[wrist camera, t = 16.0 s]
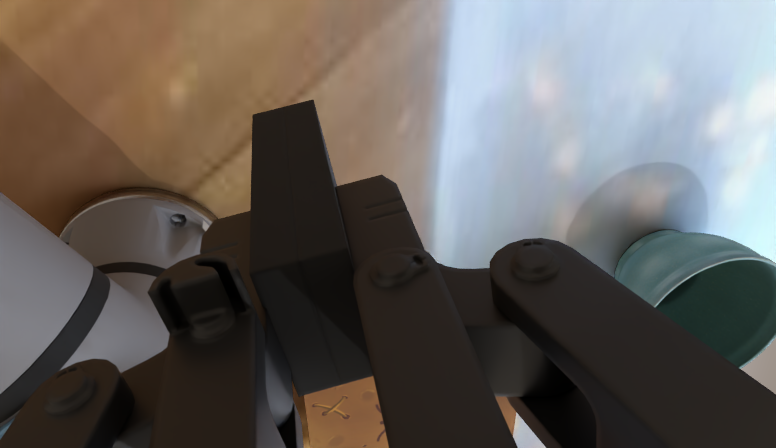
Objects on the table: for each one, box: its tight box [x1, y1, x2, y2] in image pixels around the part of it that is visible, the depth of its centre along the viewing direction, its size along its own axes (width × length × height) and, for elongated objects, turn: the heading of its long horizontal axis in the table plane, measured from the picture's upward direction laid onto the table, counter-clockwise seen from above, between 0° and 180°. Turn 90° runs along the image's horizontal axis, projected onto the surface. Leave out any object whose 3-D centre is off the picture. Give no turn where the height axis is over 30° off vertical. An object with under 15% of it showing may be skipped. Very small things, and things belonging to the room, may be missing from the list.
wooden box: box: [304, 376, 516, 448], centre depth 66 cm, size 23×19×6 cm
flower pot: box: [615, 230, 776, 369], centre depth 62 cm, size 16×16×11 cm
